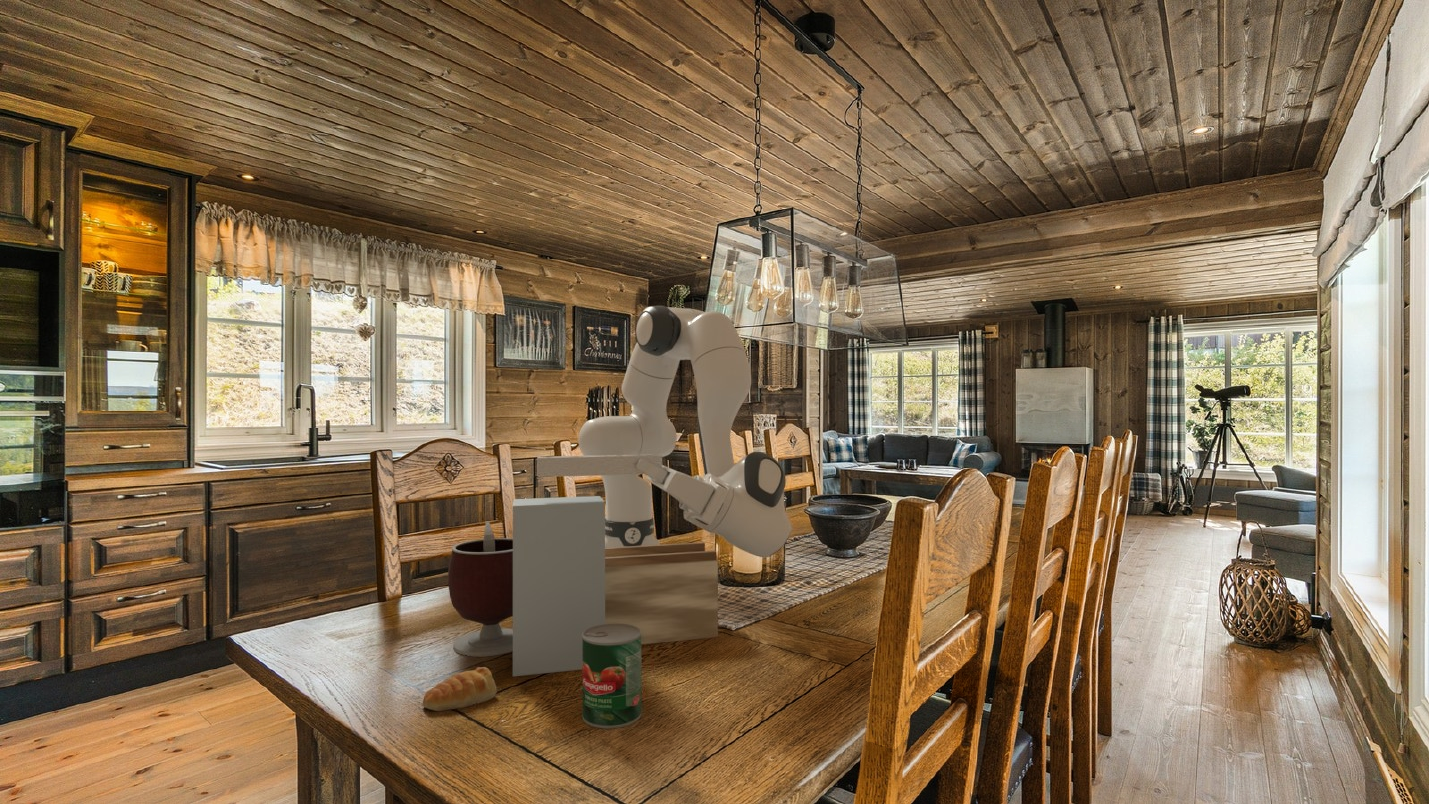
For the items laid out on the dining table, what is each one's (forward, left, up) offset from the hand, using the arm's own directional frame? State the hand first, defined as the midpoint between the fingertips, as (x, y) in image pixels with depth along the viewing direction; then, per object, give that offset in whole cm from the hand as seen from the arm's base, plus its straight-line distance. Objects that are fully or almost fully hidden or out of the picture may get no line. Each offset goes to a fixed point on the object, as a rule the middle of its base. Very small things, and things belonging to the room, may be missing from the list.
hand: (635, 461), depth 112 cm
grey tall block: (0, -12, -32) cm, 34 cm away
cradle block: (-10, +4, -32) cm, 34 cm away
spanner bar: (0, -6, -2) cm, 6 cm away
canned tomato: (+21, -6, -32) cm, 39 cm away
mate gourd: (-13, -23, -32) cm, 42 cm away
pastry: (+10, -26, -32) cm, 43 cm away
